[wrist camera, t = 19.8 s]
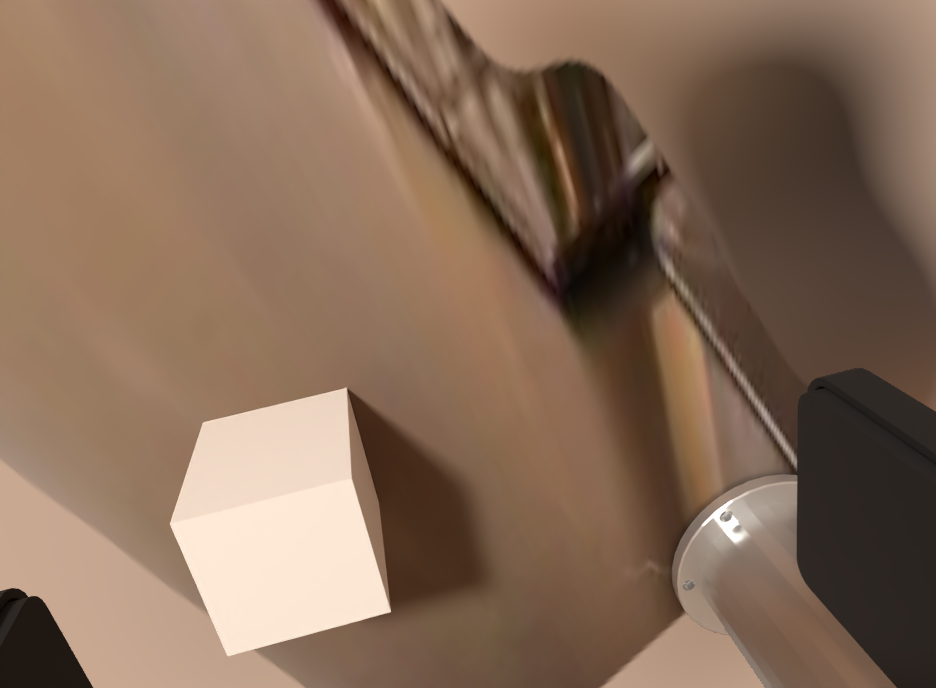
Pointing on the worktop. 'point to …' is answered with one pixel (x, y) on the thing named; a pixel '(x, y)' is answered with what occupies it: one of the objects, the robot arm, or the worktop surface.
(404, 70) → the worktop surface
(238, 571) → the cream matte cube
